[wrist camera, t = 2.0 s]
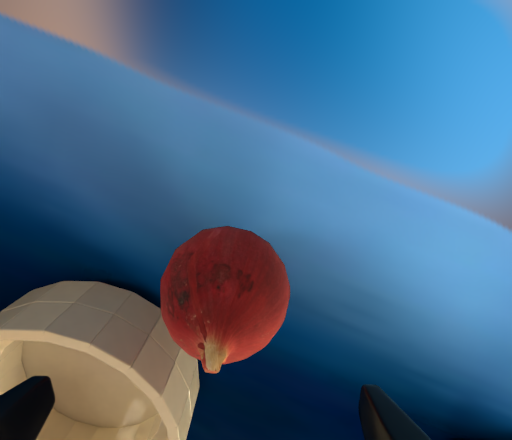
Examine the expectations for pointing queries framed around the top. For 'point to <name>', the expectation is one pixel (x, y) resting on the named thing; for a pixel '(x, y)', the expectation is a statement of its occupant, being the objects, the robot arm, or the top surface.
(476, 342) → the top surface
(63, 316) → the bowl
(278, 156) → the top surface
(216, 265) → the onion
